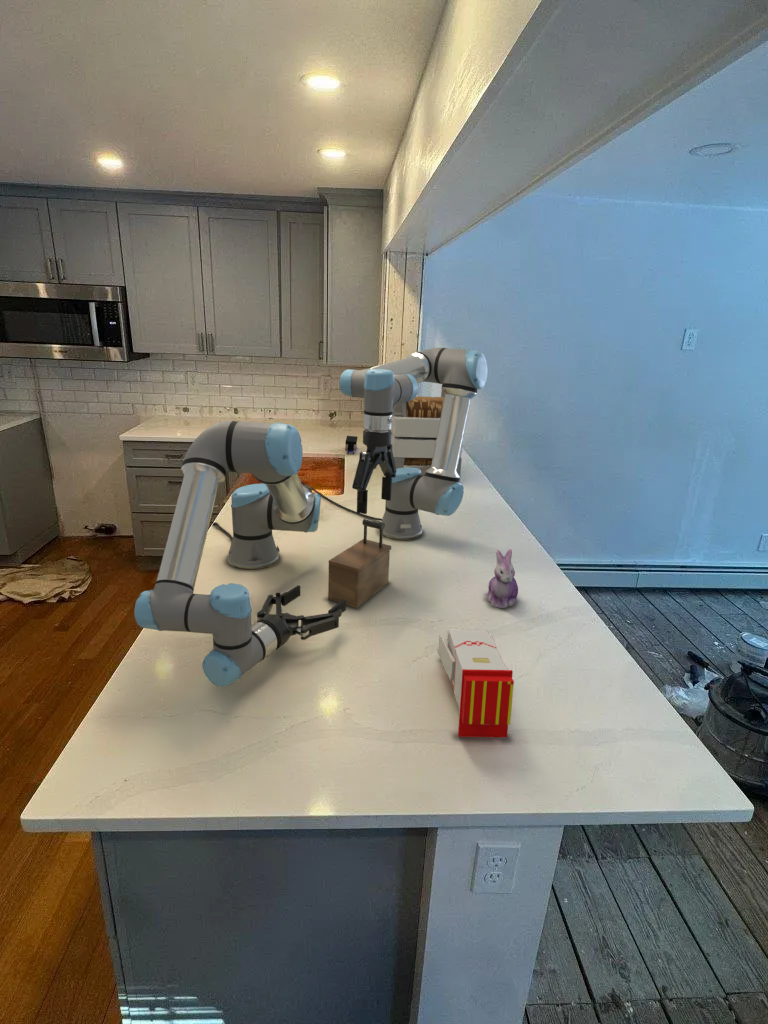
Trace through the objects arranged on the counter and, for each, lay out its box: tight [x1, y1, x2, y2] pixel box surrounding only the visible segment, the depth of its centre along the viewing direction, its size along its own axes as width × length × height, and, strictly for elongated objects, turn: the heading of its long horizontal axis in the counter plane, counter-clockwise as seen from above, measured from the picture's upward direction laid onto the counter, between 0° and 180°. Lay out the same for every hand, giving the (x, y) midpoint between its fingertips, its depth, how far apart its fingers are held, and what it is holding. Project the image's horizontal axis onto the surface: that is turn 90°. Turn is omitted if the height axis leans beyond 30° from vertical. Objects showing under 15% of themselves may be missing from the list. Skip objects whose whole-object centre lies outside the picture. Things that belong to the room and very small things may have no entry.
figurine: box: [487, 548, 519, 609], centre depth 154 cm, size 9×10×15 cm
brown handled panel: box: [328, 517, 392, 573], centre depth 154 cm, size 18×9×9 cm, turn 151°
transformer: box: [390, 389, 464, 483], centre depth 268 cm, size 34×33×41 cm
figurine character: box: [344, 435, 359, 455], centre depth 308 cm, size 7×8×15 cm
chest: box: [327, 550, 391, 609], centre depth 157 cm, size 17×9×10 cm, turn 151°
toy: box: [437, 628, 515, 738], centre depth 117 cm, size 12×13×30 cm
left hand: (321, 597), depth 141 cm, fingers open, 13 cm apart
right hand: (374, 506), depth 156 cm, fingers open, 13 cm apart
